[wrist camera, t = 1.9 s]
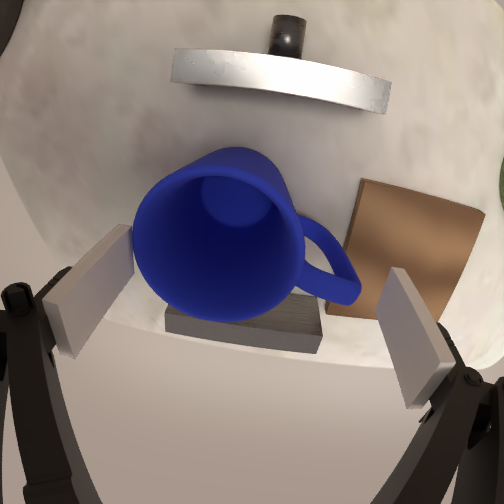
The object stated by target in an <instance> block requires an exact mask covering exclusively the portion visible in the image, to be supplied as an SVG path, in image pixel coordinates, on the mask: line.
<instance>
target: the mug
mask: <svg viewBox="0 0 504 504" xmlns="http://www.w3.org/2000/svg"><path fill="white" fill-rule="evenodd" d="M304 236H305V237H307V238H309V239H310V240H312V241H313V242H314V243H315V244H316V245H317V246H318V247H319V248H320V249H321V250H322V251H323V253H324V254H325V256H326V258H327V259H328V261H329V263H330V265H331V267H332V269H333V272H334V274H335V275H333V274H330V273H328V272H325V271H322V270H320V269H318V268H316V267H314V266H312V265H311V264H309V263H308V262H307V261H306V260H305V240H304ZM132 244H133V251H134V255H135V259H136V262H137V265H138V267H139V269H140V271H141V273H142V275H143V277H144V279H145V280H146V282H147V283H148V284H149V286H150V287H151V288H152V289H153V290H154V292H155V293H156V294H157V295H158V296H160V297H161V298H162V299H163V300H164V301H165V302H167V303H168V304H169V305H171V306H172V307H174V308H176V309H177V310H179V311H181V312H183V313H185V314H188V315H190V316H193V317H196V318H199V319H203V320H207V321H214V322H236V321H243V320H247V319H251V318H254V317H257V316H260V315H262V314H264V313H266V312H268V311H270V310H271V309H273V308H274V307H276V306H277V305H278V304H280V303H281V302H282V301H283V300H284V299H285V298H286V297H287V296H288V295H289V293H290V292H291V291H292V289H293V288H294V286H297V287H299V288H300V289H302V290H304V291H305V292H307V293H310V294H312V295H314V296H316V297H319V298H322V299H325V300H328V301H330V302H333V303H337V304H341V305H346V306H349V305H352V304H353V303H354V302H355V301H356V300H357V298H358V297H359V295H360V293H361V290H362V284H361V282H360V279H359V277H358V275H357V273H356V271H355V269H354V268H353V266H352V264H351V262H350V260H349V258H348V256H347V255H346V253H345V251H344V250H343V248H342V247H341V245H340V244H339V242H338V241H337V240H336V238H335V237H334V236H333V235H332V234H331V233H330V232H329V231H328V230H327V229H326V228H324V227H323V226H322V225H320V224H318V223H317V222H315V221H313V220H311V219H309V218H306V217H303V216H300V215H297V213H296V210H295V208H294V205H293V203H292V200H291V198H290V195H289V193H288V190H287V187H286V185H285V182H284V180H283V178H282V176H281V174H280V172H279V170H278V169H277V168H276V166H275V165H274V164H273V163H272V162H271V161H270V160H269V159H268V158H266V157H265V156H264V155H262V154H260V153H258V152H256V151H254V150H251V149H247V148H241V147H230V148H224V149H220V150H217V151H215V152H213V153H211V154H209V155H207V156H205V157H203V158H201V159H199V160H197V161H195V162H193V163H191V164H189V165H187V166H185V167H183V168H181V169H179V170H177V171H176V172H174V173H172V174H170V175H168V176H167V177H165V178H164V179H162V180H161V181H160V182H158V183H157V184H156V185H155V186H154V187H153V188H152V189H151V190H150V191H149V192H148V194H147V195H146V196H145V197H144V199H143V201H142V202H141V204H140V206H139V208H138V211H137V213H136V216H135V220H134V224H133V230H132Z"/></svg>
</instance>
